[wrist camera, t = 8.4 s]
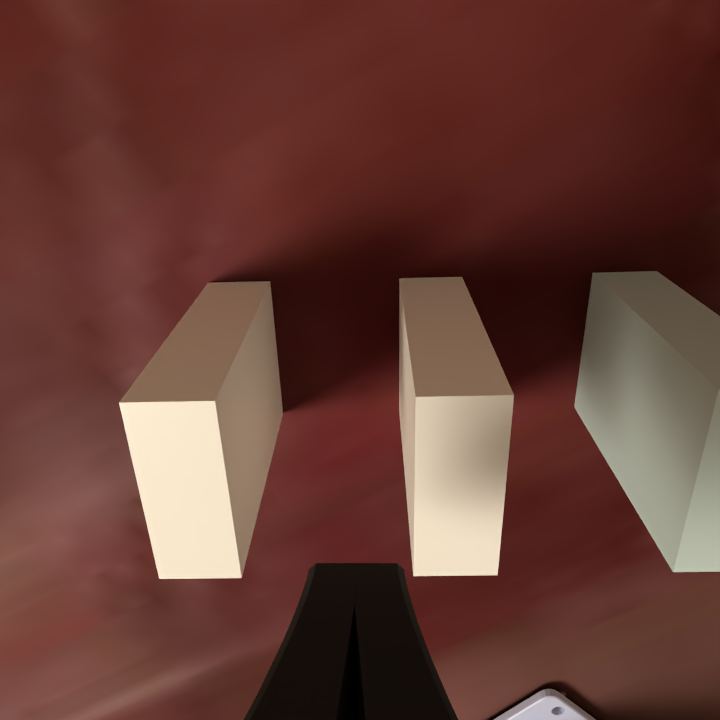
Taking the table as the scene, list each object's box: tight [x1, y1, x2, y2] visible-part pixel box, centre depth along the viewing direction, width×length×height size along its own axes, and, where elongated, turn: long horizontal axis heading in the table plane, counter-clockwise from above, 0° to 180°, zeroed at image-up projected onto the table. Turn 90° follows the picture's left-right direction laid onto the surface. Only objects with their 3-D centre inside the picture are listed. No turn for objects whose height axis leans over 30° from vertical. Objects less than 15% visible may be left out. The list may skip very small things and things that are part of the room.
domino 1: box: [119, 281, 283, 579], centre depth 16 cm, size 2×4×7 cm, turn 2°
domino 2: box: [399, 277, 514, 576], centre depth 15 cm, size 2×4×7 cm, turn 2°
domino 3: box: [574, 271, 720, 572], centre depth 15 cm, size 2×4×7 cm, turn 2°
